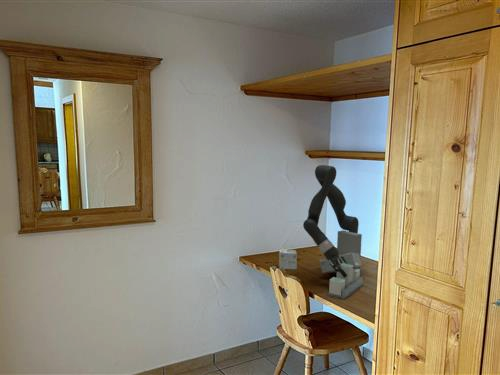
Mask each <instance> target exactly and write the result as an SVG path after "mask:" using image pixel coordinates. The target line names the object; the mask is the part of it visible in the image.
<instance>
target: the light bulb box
mask: <svg viewBox="0 0 500 375" xmlns="http://www.w3.org/2000/svg"><path fill="white" fill-rule="evenodd" d="M297 254H298V253H297V250H295V249H279V252H278V257H279V258H278V267H279V269H280V268H283V269H282V270H297V268H298V267H297V263H298V262H297V260H298V258H297V257H298V255H297Z"/></svg>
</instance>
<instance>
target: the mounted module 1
mask: <svg viewBox="0 0 500 375" xmlns="http://www.w3.org/2000/svg"><path fill="white" fill-rule="evenodd" d="M336 277H337V276H336ZM336 277H335V276H333V277H332V278H330V279H329V288H328V290H329V291H328V292H329V293H333V294H336V295H340V296H341V295H342V290H343V289H345V280H344V279H340V278H336Z"/></svg>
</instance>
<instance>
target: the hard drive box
mask: <svg viewBox="0 0 500 375" xmlns="http://www.w3.org/2000/svg"><path fill="white" fill-rule="evenodd" d="M341 256H343V257H344V259H345V260H346V262H347V264H350V265H353V267H357V266H360V267H361V266H363V264H362V261H361V258H360V256H359V253H348V254H344V255H340V257H341ZM330 263H331V260H327V258H325V259H319V264H320V268H321V273H322V274H330V273H331V274H332V273H335V272H336V271H335V270H334V268H333V267H332V266H331V265H330ZM336 273H337V272H336Z"/></svg>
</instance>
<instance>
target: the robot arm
mask: <svg viewBox="0 0 500 375" xmlns="http://www.w3.org/2000/svg"><path fill="white" fill-rule="evenodd" d="M314 175H315V178H316V180H317V181H318V184H319V185H320V186H321V188H320V189H319V190H318V192H317V193H316V194H315V195H314V196H313V198H312V199H311V201H310V204H309V208H308V210H307V211H308V216H307V218H306V220H304V221H303V225H302V226H303V229H304V231H305V232H306V233H307V234H308V235H309V236H310V237H311V238H312V240H313V242H314V244H316V247H318V249H319V250H320V252H321V253H322V255H323V256H324V257H325V259H327V260H331V263H330V265H331V266H332V267H333V268H334V270H335V271H336V273H337V272H340V273H341V274H342V276H343V277H344V278H345V277H346V276H347V274H346V273H345V271H344V270H343V269H342V267H341V263H345V264H347V262H346V260H345V259H344V257H343V256H341V257H340V256H339V255H338V253H339V252H338V250H337V247H336V246H335V245H334V244H333V242H332V241H330V239H329V238H328V237H327V235H326V234H325V233H324V232H323V231H322V230H321V229H320V227H319V221H320V217H321V216H320V215H321V214H322V211H323V207H324V204H325V201H326V198H327V199H328V201H329V204H330V206H331V208H332V209H333V213H334V214H335V217H336V220H337V223H338V225H339V228H340V229H341V230H344V231H348V232H353V233H358V234H359V225H360V224H359V220H358V218H357V217H356V216H352V215H351V216H350V215H348V214H346V212H345V207H346V204H347V200H346V197H345V195H344V193H343V192H342V190H340V188H339V187H337V185H335V184H334V183H335V180H336V178H337V169H336V167H335V166H334V165H327V164H326V165H325V164H319V165H317V166H316V168H315V169H314ZM339 267H340V268H339Z"/></svg>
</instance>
